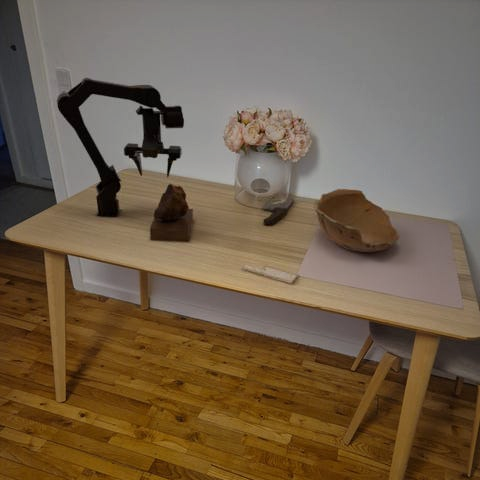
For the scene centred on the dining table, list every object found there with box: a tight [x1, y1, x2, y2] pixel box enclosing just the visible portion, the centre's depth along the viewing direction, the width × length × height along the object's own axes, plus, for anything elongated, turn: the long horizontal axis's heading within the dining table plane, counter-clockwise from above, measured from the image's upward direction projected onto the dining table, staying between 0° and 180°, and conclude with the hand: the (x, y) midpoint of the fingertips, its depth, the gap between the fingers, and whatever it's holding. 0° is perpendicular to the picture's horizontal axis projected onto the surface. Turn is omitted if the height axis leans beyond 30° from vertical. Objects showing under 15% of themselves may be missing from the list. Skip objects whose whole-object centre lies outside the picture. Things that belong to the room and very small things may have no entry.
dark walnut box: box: [149, 208, 194, 243], centre depth 145 cm, size 12×18×4 cm, turn 0°
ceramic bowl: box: [313, 188, 400, 253], centre depth 143 cm, size 30×27×15 cm
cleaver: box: [261, 197, 295, 226], centre depth 164 cm, size 30×10×2 cm, turn 162°
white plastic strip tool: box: [243, 264, 299, 284], centre depth 125 cm, size 5×15×1 cm, turn 63°
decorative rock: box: [153, 183, 190, 221], centre depth 140 cm, size 12×6×11 cm, turn 133°
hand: (154, 176), depth 153 cm, fingers open, 9 cm apart
